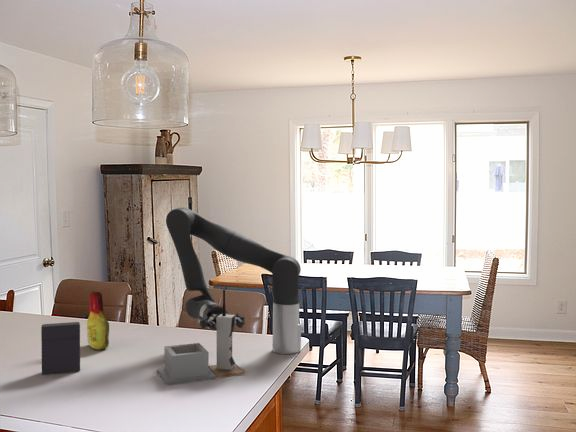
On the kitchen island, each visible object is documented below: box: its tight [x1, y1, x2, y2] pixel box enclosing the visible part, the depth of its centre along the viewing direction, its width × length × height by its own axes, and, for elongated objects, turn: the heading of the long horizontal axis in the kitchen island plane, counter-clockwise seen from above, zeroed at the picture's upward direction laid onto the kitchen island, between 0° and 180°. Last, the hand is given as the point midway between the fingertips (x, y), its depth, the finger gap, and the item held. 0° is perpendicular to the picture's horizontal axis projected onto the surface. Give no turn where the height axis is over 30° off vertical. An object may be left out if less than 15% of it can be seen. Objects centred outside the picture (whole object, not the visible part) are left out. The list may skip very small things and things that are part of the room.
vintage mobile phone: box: [216, 289, 236, 370], centre depth 181 cm, size 4×5×25 cm
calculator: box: [40, 321, 81, 376], centre depth 178 cm, size 11×4×15 cm, turn 111°
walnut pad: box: [208, 362, 246, 379], centre depth 181 cm, size 9×10×1 cm
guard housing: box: [156, 342, 217, 386], centre depth 177 cm, size 15×14×8 cm
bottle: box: [86, 291, 110, 351], centre depth 205 cm, size 12×6×20 cm, turn 39°
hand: (228, 325), depth 179 cm, fingers open, 8 cm apart
